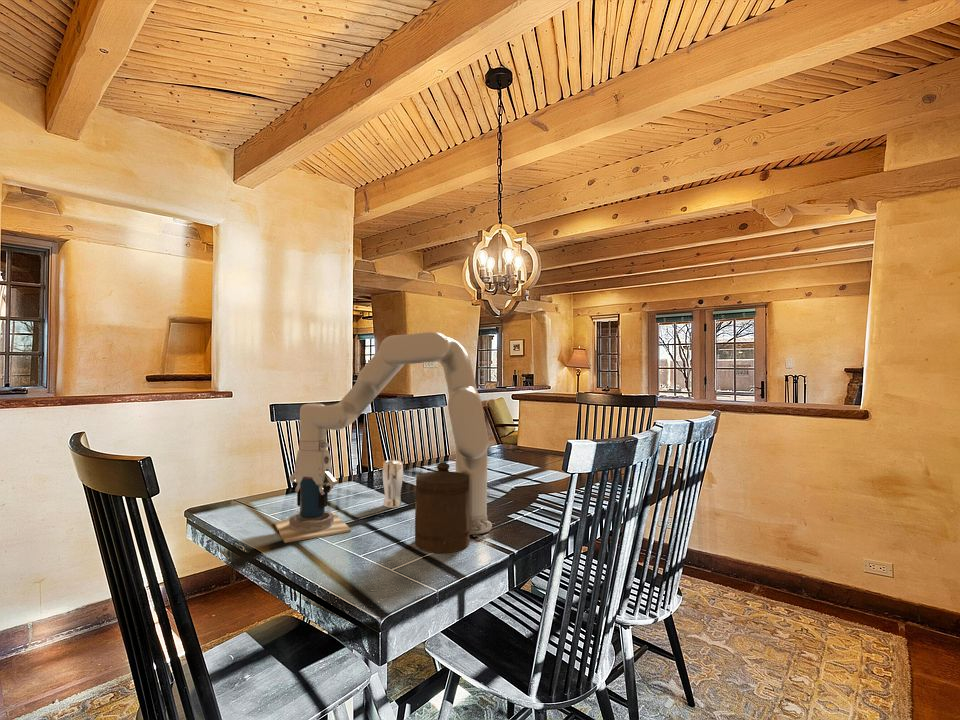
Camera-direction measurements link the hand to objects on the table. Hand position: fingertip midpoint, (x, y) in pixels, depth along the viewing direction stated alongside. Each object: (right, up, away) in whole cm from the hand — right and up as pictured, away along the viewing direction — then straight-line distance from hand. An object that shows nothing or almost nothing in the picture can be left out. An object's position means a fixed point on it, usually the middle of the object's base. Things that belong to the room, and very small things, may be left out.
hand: (312, 505), depth 146 cm
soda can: (0, -3, 0) cm, 3 cm away
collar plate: (0, -7, 0) cm, 7 cm away
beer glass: (+20, -7, +23) cm, 31 cm away
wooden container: (+39, -7, -11) cm, 42 cm away
